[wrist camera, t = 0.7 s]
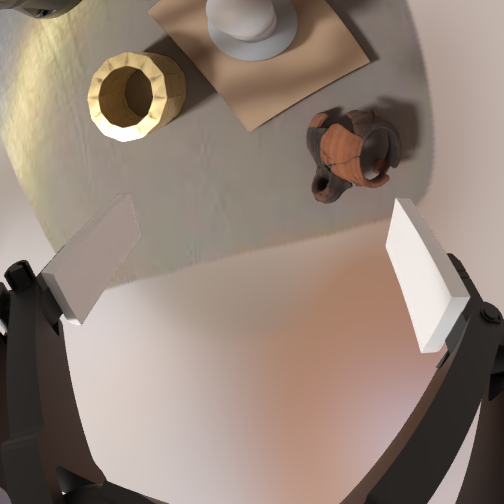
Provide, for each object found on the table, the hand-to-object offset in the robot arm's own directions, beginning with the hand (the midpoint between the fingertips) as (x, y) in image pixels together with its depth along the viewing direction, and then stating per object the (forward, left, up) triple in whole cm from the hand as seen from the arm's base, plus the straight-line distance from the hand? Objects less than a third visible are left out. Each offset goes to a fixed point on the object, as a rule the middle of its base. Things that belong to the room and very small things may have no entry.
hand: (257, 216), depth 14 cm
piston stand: (-12, +5, -22) cm, 26 cm away
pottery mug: (+6, +5, -22) cm, 24 cm away
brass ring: (-14, -10, -22) cm, 28 cm away
